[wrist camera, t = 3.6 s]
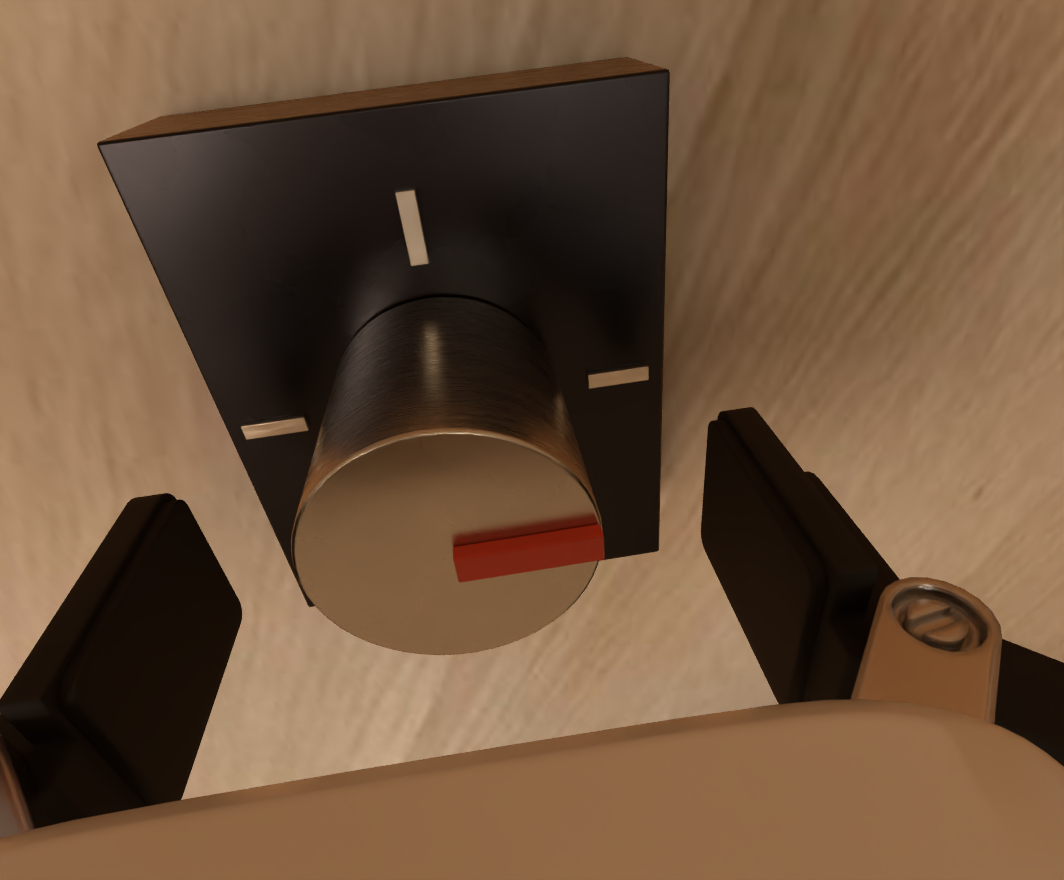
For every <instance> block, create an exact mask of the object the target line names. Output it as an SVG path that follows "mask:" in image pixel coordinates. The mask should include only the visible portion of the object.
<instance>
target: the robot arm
mask: <svg viewBox="0 0 1064 880" xmlns="http://www.w3.org/2000/svg"><path fill="white" fill-rule="evenodd" d="M701 538H702V543H703V546H704V549H705V552H706V554H707V556H708V558H709V560H710V562H711V564H712V566H713V568H714V570H715V573H716V575H717V577H718V579H719V581H720V583H721V585H722V587H723V589H724V591H725V593H726V595H727V598H728V600H729V602H730V604H731V606H732V608H733V610H734V612H735V614H736V616H737V618H738V621H739V623H740V625H741V627H742V629H743V631H744V633H745V635H746V637H747V639H748V641H749V643H750V646H751V648H752V650H753V652H754V654H755V656H756V658H757V660H758V662H759V664H760V666H761V669H762V671H763V673H764V675H765V677H766V679H767V681H768V683H769V685H770V687H771V689H772V691H773V694H774V696H775V698H776V700H777V701H778V703H779V704H778V705H770V706H763V707H756V708H749V709H742V710H734V711H727V712H720V713H713V714H706V715H699V716H692V717H685V718H678V719H672V720H665V721H659V722H653V723H646V724H640V725H634V726H628V727H621V728H615V729H609V730H602V731H596V732H590V733H583V734H577V735H571V736H565V737H558V738H552V739H546V740H539V741H533V742H527V743H521V744H514V745H508V746H502V747H496V748H490V749H484V750H478V751H472V752H465V753H459V754H453V755H447V756H441V757H435V758H429V759H423V760H417V761H411V762H404V763H398V764H392V765H386V766H380V767H374V768H368V769H362V770H356V771H350V772H344V773H338V774H332V775H326V776H320V777H314V778H308V779H302V780H296V781H291V782H285V783H279V784H273V785H267V786H261V787H255V788H249V789H243V790H237V791H232V792H226V793H220V794H214V795H208V796H202V797H196V798H190V799H184V800H181V798H182V796H183V793H184V790H185V787H186V784H187V781H188V778H189V775H190V772H191V770H192V767H193V764H194V761H195V758H196V755H197V752H198V749H199V746H200V743H201V740H202V737H203V734H204V731H205V728H206V725H207V722H208V719H209V716H210V713H211V710H212V707H213V704H214V701H215V698H216V695H217V692H218V689H219V686H220V683H221V680H222V677H223V674H224V671H225V668H226V666H227V663H228V660H229V657H230V654H231V651H232V648H233V645H234V642H235V639H236V636H237V633H238V630H239V627H240V624H241V620H242V608H241V604H240V601H239V599H238V597H237V596H236V594H235V592H234V590H233V588H232V586H231V584H230V583H229V581H228V579H227V577H226V575H225V573H224V572H223V570H222V568H221V566H220V564H219V562H218V560H217V559H216V557H215V555H214V553H213V551H212V549H211V547H210V546H209V544H208V542H207V540H206V538H205V536H204V534H203V533H202V531H201V529H200V527H199V525H198V523H197V521H196V520H195V518H194V516H193V514H192V512H191V510H190V508H189V507H188V505H187V504H186V502H184V501H183V500H176V498H175V497H174V496H173V495H171V494H168V493H165V494H158V495H151V496H144V497H137V498H134V499H131V500H130V501H129V502H128V503H127V505H126V506H125V508H124V509H123V511H122V512H121V514H120V516H119V517H118V519H117V520H116V522H115V523H114V525H113V526H112V528H111V529H110V531H109V532H108V534H107V536H106V537H105V539H104V540H103V542H102V543H101V545H100V546H99V548H98V549H97V551H96V552H95V554H94V556H93V557H92V559H91V560H90V562H89V563H88V565H87V566H86V568H85V569H84V571H83V573H82V574H81V576H80V577H79V579H78V580H77V582H76V583H75V585H74V586H73V588H72V589H71V591H70V593H69V594H68V596H67V597H66V599H65V600H64V602H63V603H62V605H61V606H60V608H59V610H58V611H57V613H56V614H55V616H54V617H53V619H52V620H51V622H50V623H49V625H48V626H47V628H46V630H45V631H44V633H43V634H42V636H41V637H40V639H39V640H38V642H37V643H36V645H35V647H34V648H33V650H32V651H31V653H30V654H29V656H28V657H27V659H26V660H25V662H24V663H23V665H22V667H21V668H20V670H19V671H18V673H17V674H16V676H15V677H14V679H13V680H12V682H11V683H10V685H9V687H8V688H7V690H6V691H5V693H4V694H3V696H2V697H1V699H0V713H1V714H0V880H1064V663H1063V662H1060V661H1057V660H1055V659H1052V658H1050V657H1047V656H1045V655H1042V654H1040V653H1037V652H1034V651H1032V650H1029V649H1027V648H1024V647H1022V646H1019V645H1017V644H1014V643H1011V642H1009V641H1006V640H1004V639H1002V634H1001V627H1000V624H999V622H998V621H997V619H996V617H995V616H994V614H993V612H992V611H991V610H990V609H989V608H988V607H987V606H986V605H985V604H984V603H983V602H982V601H981V600H980V599H978V598H977V597H975V596H974V595H972V594H970V593H969V592H967V591H966V590H964V589H962V588H960V587H957V586H955V585H953V584H950V583H948V582H945V581H941V580H936V579H931V578H922V577H909V578H905V579H901V580H900V579H899V578H898V577H897V576H896V574H895V573H894V572H893V570H892V569H891V568H890V567H889V565H888V564H887V563H886V562H885V560H884V559H883V558H882V557H881V555H880V554H879V553H878V552H877V550H876V549H875V548H874V547H873V545H872V544H871V543H870V542H869V540H868V539H867V538H866V537H865V535H864V534H863V533H862V532H861V530H860V529H859V528H858V527H857V525H856V524H855V523H854V522H853V520H852V519H851V518H850V517H849V515H848V514H847V513H846V512H845V510H844V509H843V508H842V507H841V505H840V504H839V503H838V502H837V500H836V499H835V498H834V497H833V495H832V494H831V493H830V491H829V490H828V489H827V488H826V486H825V485H824V484H823V483H822V481H821V480H820V479H819V478H818V477H817V476H816V475H815V474H814V473H811V472H808V471H807V472H804V471H803V470H802V468H801V467H800V466H799V465H798V463H797V462H796V461H795V459H794V458H793V457H792V456H791V454H790V453H789V452H788V450H787V449H786V448H785V447H784V445H783V444H782V443H781V441H780V440H779V439H778V438H777V436H776V435H775V434H774V432H773V431H772V430H771V428H770V427H769V426H768V425H767V423H766V422H765V421H764V419H763V418H762V417H761V416H760V414H759V413H758V412H757V410H755V409H754V408H752V407H748V408H742V409H735V410H728V411H722V412H720V413H719V415H718V419H717V420H715V421H711V422H710V423H709V426H708V436H707V451H706V465H705V480H704V494H703V508H702V523H701Z"/></svg>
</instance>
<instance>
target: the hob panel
mask: <svg viewBox="0 0 1064 880" xmlns="http://www.w3.org/2000/svg"><path fill="white" fill-rule="evenodd" d="M669 83H670V72H669V70H668V69H665V68H662V67H659V66H655V65H652V64H648V63H645V62H642V61H638V60H635V59H631V58H628V57H625V58H617V59H609V60H601V61H593V62H585V63H577V64H570V65H562V66H554V67H546V68H538V69H530V70H523V71H515V72H507V73H499V74H491V75H483V76H475V77H468V78H460V79H452V80H444V81H436V82H428V83H421V84H413V85H405V86H397V87H389V88H381V89H374V90H366V91H358V92H350V93H342V94H334V95H326V96H319V97H311V98H303V99H295V100H287V101H279V102H272V103H264V104H256V105H248V106H240V107H232V108H224V109H217V110H209V111H201V112H193V113H185V114H177V115H170V116H162V117H158V118H156V119H153V120H151V121H149V122H146V123H144V124H141V125H139V126H136V127H134V128H131V129H129V130H127V131H124V132H122V133H119V134H117V135H114V136H112V137H109V138H107V139H105V140H102V141H100V142H98V143H97V146H98V149H99V151H100V153H101V155H102V157H103V160H104V162H105V164H106V166H107V168H108V170H109V173H110V175H111V177H112V179H113V181H114V184H115V186H116V188H117V190H118V192H119V194H120V197H121V199H122V201H123V203H124V205H125V207H126V210H127V212H128V214H129V216H130V218H131V221H132V223H133V225H134V227H135V229H136V231H137V234H138V236H139V238H140V240H141V242H142V245H143V247H144V249H145V251H146V253H147V255H148V258H149V260H150V262H151V264H152V266H153V269H154V271H155V273H156V275H157V277H158V279H159V282H160V284H161V286H162V288H163V290H164V292H165V295H166V297H167V299H168V301H169V303H170V306H171V308H172V310H173V312H174V314H175V316H176V319H177V321H178V323H179V325H180V327H181V330H182V332H183V334H184V336H185V338H186V340H187V343H188V345H189V347H190V349H191V351H192V354H193V356H194V358H195V360H196V362H197V364H198V367H199V369H200V371H201V373H202V375H203V377H204V380H205V382H206V384H207V386H208V388H209V391H210V393H211V395H212V397H213V399H214V401H215V404H216V406H217V408H218V410H219V412H220V415H221V417H222V419H223V421H224V423H225V425H226V428H227V430H228V432H229V434H230V436H231V439H232V441H233V443H234V445H235V447H236V449H237V452H238V454H239V456H240V458H241V460H242V462H243V465H244V467H245V469H246V471H247V473H248V476H249V478H250V480H251V482H252V484H253V486H254V489H255V491H256V493H257V495H258V497H259V500H260V502H261V504H262V506H263V508H264V510H265V513H266V515H267V517H268V519H269V521H270V524H271V526H272V528H273V530H274V532H275V534H276V537H277V539H278V541H279V543H280V545H281V547H282V550H283V552H284V554H285V556H286V558H287V561H288V563H289V565H290V567H291V569H292V571H293V574H294V576H295V578H296V580H297V582H298V585H299V587H300V589H301V591H302V593H303V595H304V598H305V600H306V602H307V604H308V606H309V607H313V606H315V605H314V604H313V603H312V601H311V600H310V599H309V597H308V596H307V595H306V593H305V591H304V589H303V588H302V586H301V584H300V582H299V580H298V577H297V574H296V571H295V568H294V565H293V559H292V553H291V539H292V531H293V527H294V522H295V518H296V514H297V511H298V507H299V504H300V500H301V496H302V493H303V489H304V486H305V482H306V479H307V475H308V471H309V468H310V464H311V461H312V457H313V454H314V450H315V446H316V443H317V439H318V436H319V432H320V428H321V425H322V421H323V418H324V414H325V411H326V407H327V403H328V400H329V396H330V393H331V389H332V386H333V382H334V378H335V375H336V371H337V368H338V365H339V363H340V360H341V358H342V355H343V353H344V352H345V350H346V348H347V347H348V345H349V343H350V342H351V341H352V340H353V338H354V337H355V336H356V335H357V334H358V332H359V331H360V330H362V329H363V328H364V327H365V326H366V325H367V324H368V323H369V322H371V321H372V320H374V319H375V318H377V317H378V316H379V315H381V314H382V313H384V312H386V311H388V310H390V309H392V308H394V307H397V306H399V305H402V304H405V303H408V302H411V301H416V300H421V299H426V298H436V297H456V298H465V299H470V300H476V301H479V302H482V303H486V304H489V305H492V306H494V307H496V308H498V309H501V310H503V311H505V312H507V313H508V314H510V315H511V316H513V317H515V318H516V319H518V320H519V321H520V322H522V323H523V324H524V325H525V326H526V327H528V328H529V329H530V330H531V331H532V332H533V334H534V335H535V336H536V337H537V338H538V339H539V340H540V342H541V343H542V345H543V346H544V348H545V349H546V351H547V353H548V355H549V357H550V359H551V361H552V363H553V367H554V370H555V373H556V376H557V379H558V382H559V385H560V389H561V392H562V395H563V398H564V401H565V405H566V408H567V411H568V414H569V417H570V421H571V424H572V427H573V430H574V433H575V437H576V440H577V443H578V446H579V449H580V453H581V456H582V459H583V462H584V465H585V469H586V472H587V475H588V478H589V481H590V485H591V488H592V491H593V494H594V497H595V501H596V504H597V507H598V510H599V513H600V516H601V523H602V530H603V535H604V555H605V558H604V560H606V559H613V558H619V557H625V556H631V555H638V554H644V553H650V552H656V551H658V550H659V522H660V478H661V434H662V390H663V347H664V303H665V259H666V215H667V171H668V127H669ZM599 561H600V560H599Z"/></svg>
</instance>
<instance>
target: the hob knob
mask: <svg viewBox="0 0 1064 880" xmlns="http://www.w3.org/2000/svg"><path fill="white" fill-rule="evenodd" d="M291 553H292V559H293V565H294V568H295V571H296V574H297V577H298V580H299V582H300V584H301V586H302V588H303V589H304V591H305V593H306V595H307V596H308V597H309V599H310V600H311V601H312V603H313V604H314V605H315V606H316V608H317V609H319V610H320V611H321V612H322V613H323V614H324V615H325V616H326V617H327V618H328V619H329V620H331V621H332V622H333V623H335V624H336V625H338V626H339V627H340V628H342V629H344V630H345V631H347V632H349V633H351V634H352V635H354V636H356V637H358V638H361V639H363V640H365V641H368V642H370V643H373V644H376V645H379V646H382V647H385V648H389V649H393V650H398V651H403V652H409V653H417V654H429V655H452V654H464V653H472V652H478V651H483V650H488V649H493V648H496V647H499V646H503V645H506V644H509V643H512V642H514V641H517V640H519V639H522V638H524V637H527V636H528V635H530V634H532V633H534V632H536V631H538V630H540V629H542V628H543V627H545V626H546V625H548V624H550V623H551V622H553V621H554V620H555V619H557V618H558V617H559V616H560V615H562V614H563V613H564V612H565V611H567V610H568V609H569V608H570V607H571V606H572V605H573V604H574V603H575V602H576V601H577V599H578V598H579V597H580V595H581V594H582V593H583V592H584V590H585V589H586V588H587V586H588V584H589V582H590V581H591V579H592V577H593V575H594V573H595V570H596V568H597V565H598V562H599V560H604V558H605V555H604V535H603V530H602V523H601V516H600V513H599V510H598V507H597V504H596V501H595V497H594V494H593V491H592V488H591V485H590V481H589V478H588V475H587V472H586V469H585V465H584V462H583V459H582V456H581V453H580V449H579V446H578V443H577V440H576V437H575V433H574V430H573V427H572V424H571V421H570V417H569V414H568V411H567V408H566V405H565V401H564V398H563V395H562V392H561V389H560V385H559V382H558V379H557V376H556V373H555V370H554V367H553V363H552V361H551V359H550V357H549V355H548V353H547V351H546V349H545V348H544V346H543V345H542V343H541V342H540V340H539V339H538V338H537V337H536V336H535V335H534V334H533V332H532V331H531V330H530V329H529V328H528V327H526V326H525V325H524V324H523V323H522V322H520V321H519V320H518V319H516V318H515V317H513V316H511V315H510V314H508V313H507V312H505V311H503V310H501V309H498V308H496V307H494V306H492V305H489V304H486V303H482V302H479V301H476V300H470V299H465V298H456V297H436V298H426V299H421V300H416V301H411V302H408V303H405V304H402V305H399V306H397V307H394V308H392V309H390V310H388V311H386V312H384V313H382V314H381V315H379V316H378V317H377V318H375V319H374V320H372V321H371V322H369V323H368V324H367V325H366V326H365V327H364V328H363V329H362V330H360V331H359V332H358V334H357V335H356V336H355V337H354V338H353V340H352V341H351V342H350V343H349V345H348V347H347V348H346V350H345V352H344V353H343V355H342V358H341V360H340V363H339V365H338V368H337V371H336V375H335V378H334V382H333V386H332V389H331V393H330V396H329V400H328V403H327V407H326V411H325V414H324V418H323V421H322V425H321V428H320V432H319V436H318V439H317V443H316V446H315V450H314V454H313V457H312V461H311V464H310V468H309V471H308V475H307V479H306V482H305V486H304V489H303V493H302V496H301V500H300V504H299V507H298V511H297V514H296V518H295V522H294V527H293V531H292V539H291Z"/></svg>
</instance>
